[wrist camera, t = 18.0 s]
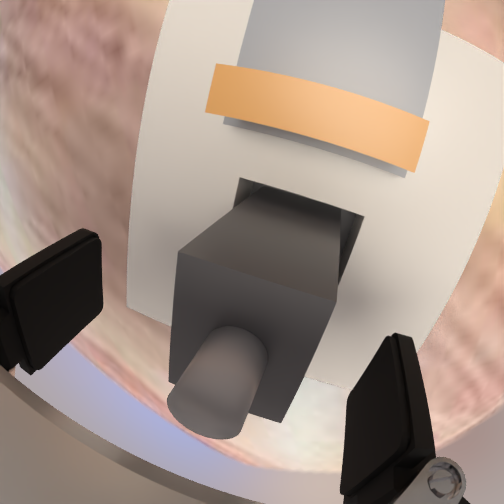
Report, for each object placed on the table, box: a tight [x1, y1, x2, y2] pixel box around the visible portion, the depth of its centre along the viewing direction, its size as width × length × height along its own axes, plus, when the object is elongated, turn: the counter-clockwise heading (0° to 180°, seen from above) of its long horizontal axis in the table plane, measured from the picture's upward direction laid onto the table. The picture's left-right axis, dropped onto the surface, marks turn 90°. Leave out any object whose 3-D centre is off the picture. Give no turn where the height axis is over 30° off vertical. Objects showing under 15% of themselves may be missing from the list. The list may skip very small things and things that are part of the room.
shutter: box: [205, 0, 445, 178], centre depth 8 cm, size 7×8×4 cm
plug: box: [167, 186, 341, 439], centre depth 11 cm, size 4×5×11 cm
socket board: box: [127, 0, 504, 390], centre depth 14 cm, size 16×18×3 cm
